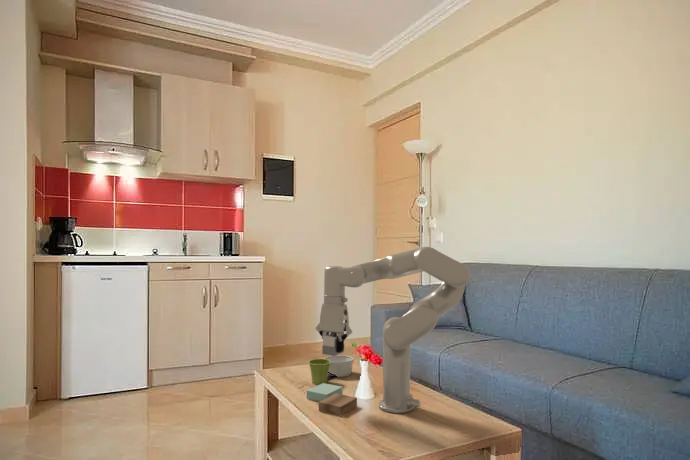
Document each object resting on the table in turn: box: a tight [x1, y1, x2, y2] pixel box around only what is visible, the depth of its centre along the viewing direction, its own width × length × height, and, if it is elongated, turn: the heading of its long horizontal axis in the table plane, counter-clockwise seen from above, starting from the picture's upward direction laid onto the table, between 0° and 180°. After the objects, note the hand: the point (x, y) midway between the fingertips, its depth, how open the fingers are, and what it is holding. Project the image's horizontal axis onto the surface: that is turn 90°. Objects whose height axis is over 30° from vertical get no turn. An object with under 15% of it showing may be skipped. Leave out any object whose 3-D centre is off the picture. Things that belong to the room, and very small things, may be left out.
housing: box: [321, 332, 345, 356], centre depth 166 cm, size 5×7×7 cm
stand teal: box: [306, 383, 343, 402], centre depth 175 cm, size 9×11×3 cm
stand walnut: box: [318, 393, 358, 417], centre depth 162 cm, size 9×11×3 cm
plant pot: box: [308, 358, 331, 385], centre depth 193 cm, size 9×9×9 cm
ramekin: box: [323, 354, 354, 378], centre depth 206 cm, size 13×13×7 cm
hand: (333, 350), depth 166 cm, fingers closed on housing, 5 cm apart
